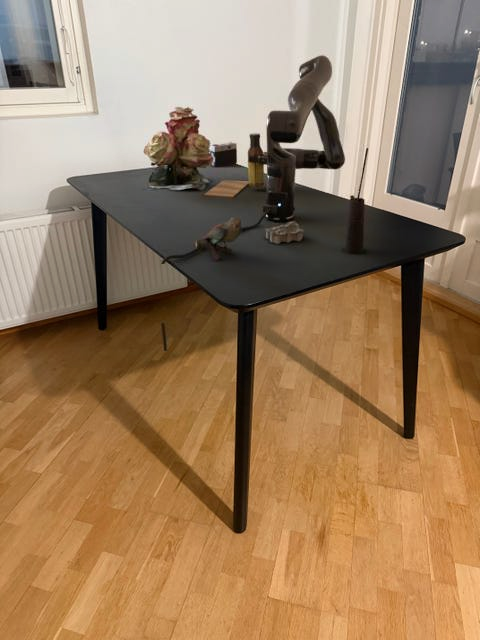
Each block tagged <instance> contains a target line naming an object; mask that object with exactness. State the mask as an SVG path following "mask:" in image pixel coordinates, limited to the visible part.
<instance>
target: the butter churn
mask: <svg viewBox="0 0 480 640" xmlns="http://www.w3.org/2000/svg"><path fill="white" fill-rule="evenodd" d="M364 153H365V155H364V159H363V164H362V170H361V176H360V181H359V187H358V193H357V197H355V195H354V194H353V195H350V196H349V201H348V202H349V203H348V208H347V209H348V210H347V218H346V219H347V220H346V232H345V242H344V243H345V244H344V251H345V252H346V253H348V254H353V255H355V254H361V253H363V252H364V249H365V247H364V246H365V245H364V241H365V240H364V237H365V232H364V231H365V201H366V200H365V199H364V198H363V197H361V191H362V185H363V181H364V180H363V179H364V175H365V174H364V173H365V168H366V164H367V159H368V153H369V148H368V147H366V149H365V152H364Z"/></svg>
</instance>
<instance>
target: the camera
mask: <svg viewBox="0 0 480 640" xmlns="http://www.w3.org/2000/svg"><path fill="white" fill-rule="evenodd" d="M209 149H210V152H209V153H210V155H212V157H213V163H212V164H211V165H210V167H213V168H217V167H223V166H228V165H234V164H237V163H238V151H237V150H238V147H237V143H236V142H232V141H229V142H225V143H219V144H218V143H217V144H216V143H215V144H214V143H213V144H210V146H209Z"/></svg>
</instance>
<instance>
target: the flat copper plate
mask: <svg viewBox="0 0 480 640" xmlns="http://www.w3.org/2000/svg"><path fill="white" fill-rule="evenodd" d="M248 185H249V181H244V180H232V179H231V180H230V179H223V180H221V181H220V182H219V183H218V184H216V185H214V186H213V187H212V188H211V189H209V190H208V191H206V192H205V193H204V196H205V197H207V196H208V197H220V198H231V199H232V198H235V197H236V196H237V195H238V194H239V193H240V192H242V190H244V189H245V188H246V187H247V186H248Z"/></svg>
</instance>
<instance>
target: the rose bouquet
mask: <svg viewBox="0 0 480 640" xmlns="http://www.w3.org/2000/svg"><path fill="white" fill-rule="evenodd" d="M193 111H194V108H191V107H189V106H187V107H185V108H184V107H182V106H175V107H174V109H173V110H171V111H169V112H168V113H169V114H168V115H169V118H170V119H169V120H168V121H165V122H164V125H165V126H166V130H167V132H166V131H161V130H159V131H157V132H156V133H155V134H153V136H152V138H151V140H149V141H148V142H147V145H145V146H144V149H143V154H144V155H147V156H148V158H149V159H150V161H151V163H150V165H151V166H152V167H155V166H156V167H155V168H153V171H151V175H150V176H149V178H148V187H149V188H154V189H169V190H171V191H182V190H185V189H197V190H198V191H202V190H204V189H206V186H207V184H209V183H210V180H208V179H207V177H204V175H203V174H202V173H200V172H199V170H198V168H199V169H206V168H207V167H208V166H211V164H212V163H213V157H212V155H210V146H211V141H210V140H209V139H208V138H207V137H206V136H204V135H202V134H200V133H199V132H200V131H199V128H200V122H201V121H200V119H199V118H198V115H196V114H194V113H193Z"/></svg>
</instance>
